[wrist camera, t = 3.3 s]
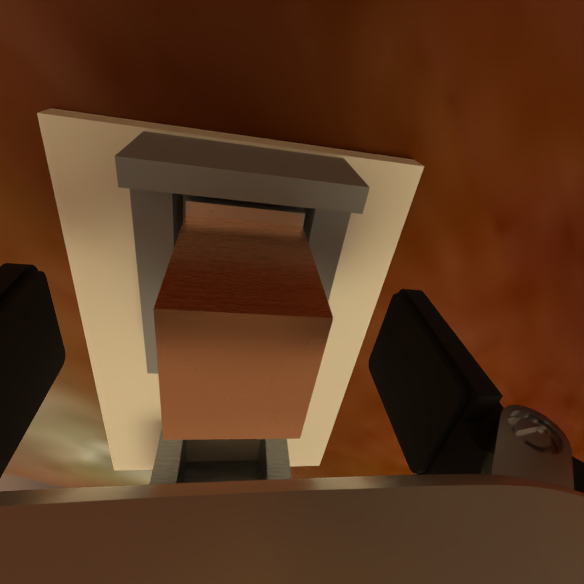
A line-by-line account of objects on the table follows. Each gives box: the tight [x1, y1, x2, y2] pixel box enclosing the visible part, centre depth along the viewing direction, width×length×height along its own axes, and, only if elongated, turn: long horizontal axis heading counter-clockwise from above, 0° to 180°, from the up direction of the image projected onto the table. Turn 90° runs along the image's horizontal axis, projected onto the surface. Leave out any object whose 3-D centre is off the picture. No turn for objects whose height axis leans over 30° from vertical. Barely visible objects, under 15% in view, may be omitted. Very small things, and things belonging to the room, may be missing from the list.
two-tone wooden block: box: [154, 195, 333, 440], centre depth 13 cm, size 3×11×7 cm, turn 171°
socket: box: [150, 429, 291, 485], centre depth 20 cm, size 7×5×5 cm
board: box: [37, 108, 424, 470], centre depth 17 cm, size 13×20×4 cm, turn 171°
